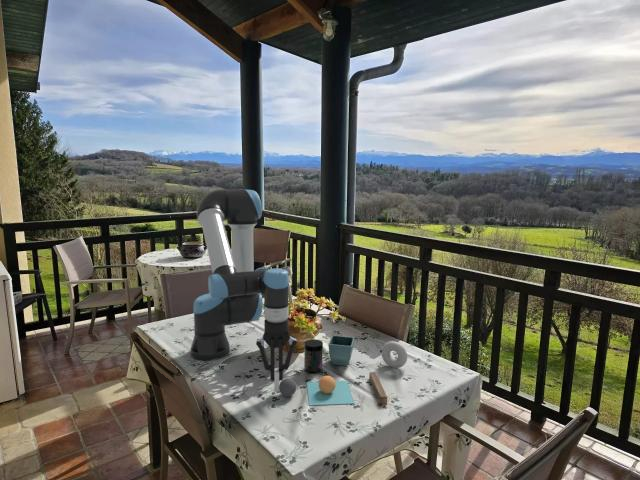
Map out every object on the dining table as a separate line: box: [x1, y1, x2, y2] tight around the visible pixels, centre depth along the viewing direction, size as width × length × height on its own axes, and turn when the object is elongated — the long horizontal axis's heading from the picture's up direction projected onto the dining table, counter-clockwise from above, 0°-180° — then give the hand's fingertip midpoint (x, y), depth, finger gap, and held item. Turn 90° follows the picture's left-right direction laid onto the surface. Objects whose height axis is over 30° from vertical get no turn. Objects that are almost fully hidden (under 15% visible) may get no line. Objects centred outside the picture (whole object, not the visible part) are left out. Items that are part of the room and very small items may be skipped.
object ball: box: [318, 375, 336, 394], centre depth 126 cm, size 6×6×6 cm
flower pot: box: [328, 334, 355, 367], centre depth 147 cm, size 9×9×9 cm
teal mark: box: [306, 380, 356, 407], centre depth 127 cm, size 14×14×1 cm
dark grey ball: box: [279, 377, 297, 397], centre depth 125 cm, size 6×6×6 cm
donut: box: [381, 340, 408, 369], centre depth 144 cm, size 10×4×10 cm, turn 55°
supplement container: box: [303, 339, 324, 375], centre depth 141 cm, size 7×7×10 cm
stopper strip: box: [369, 371, 388, 405], centre depth 128 cm, size 2×16×2 cm, turn 5°
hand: (276, 389), depth 125 cm, fingers closed
